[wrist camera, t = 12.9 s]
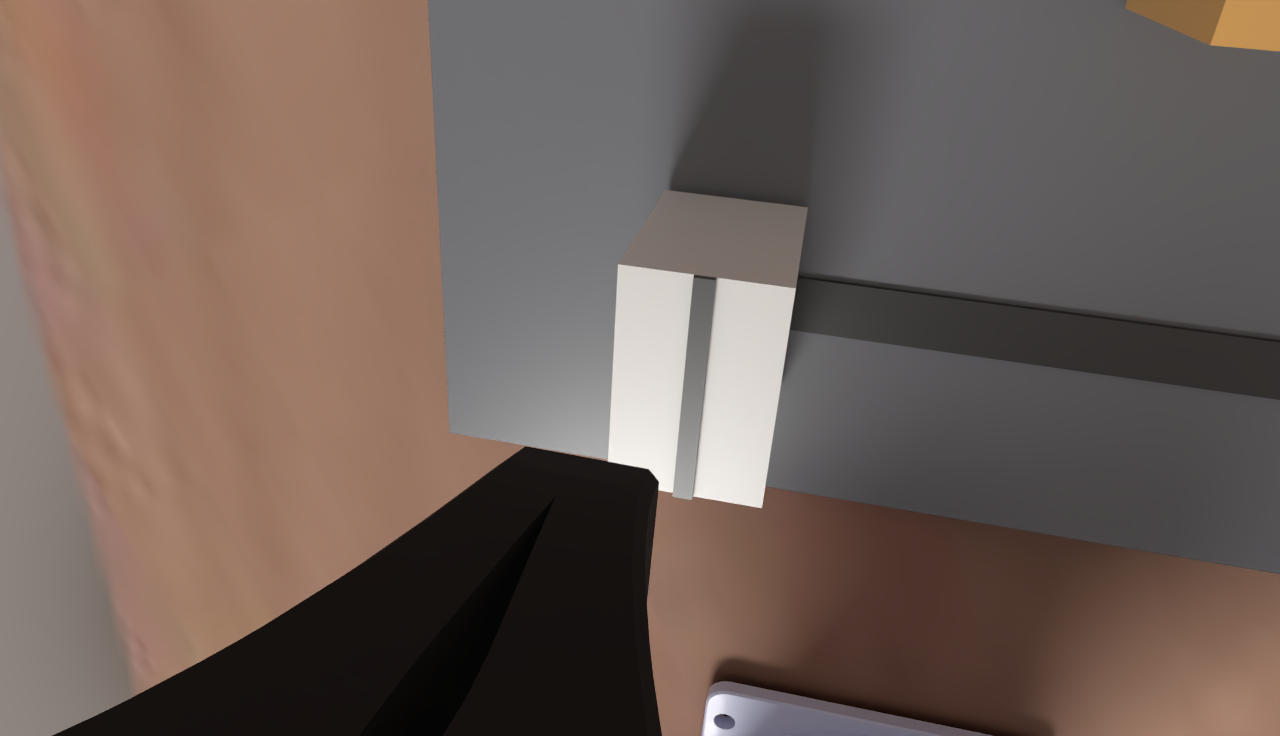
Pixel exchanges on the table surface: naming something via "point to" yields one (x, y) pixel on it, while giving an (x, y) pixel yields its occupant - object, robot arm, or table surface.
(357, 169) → the table surface
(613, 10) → the console
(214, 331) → the table surface
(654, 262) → the block
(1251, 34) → the orange fader
